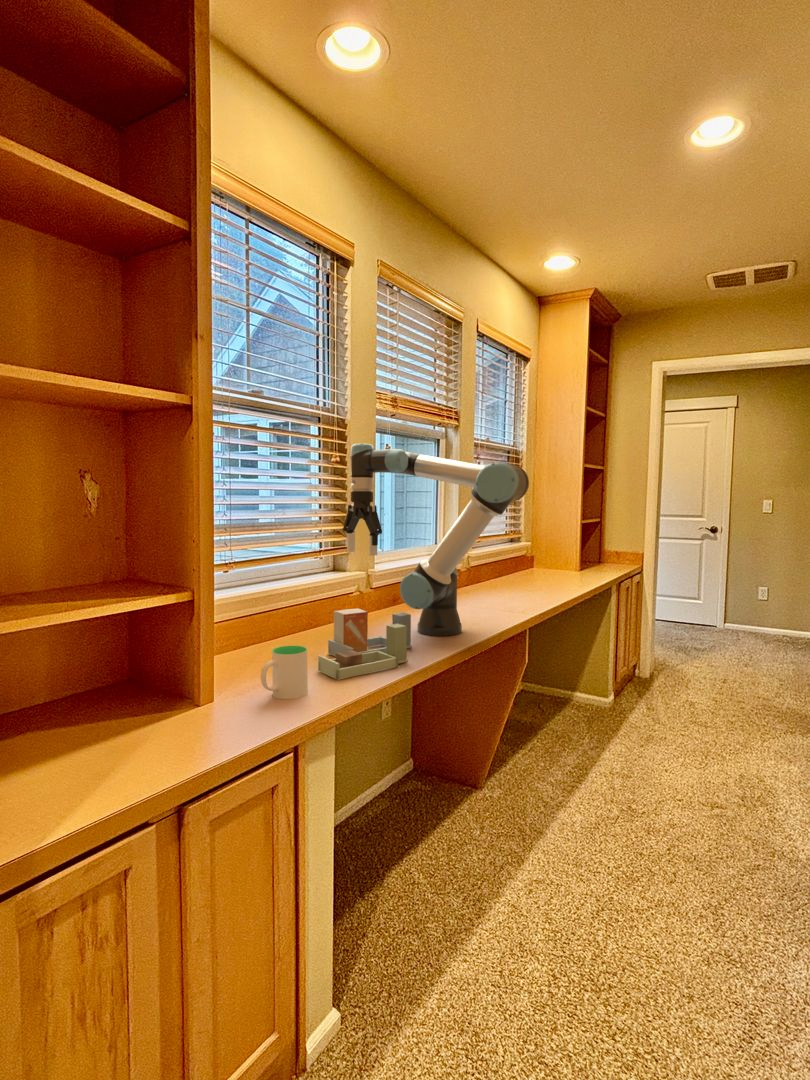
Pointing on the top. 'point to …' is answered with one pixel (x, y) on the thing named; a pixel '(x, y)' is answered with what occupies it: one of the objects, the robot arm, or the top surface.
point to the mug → (287, 672)
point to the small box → (351, 628)
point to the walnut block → (348, 658)
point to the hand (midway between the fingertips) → (361, 553)
